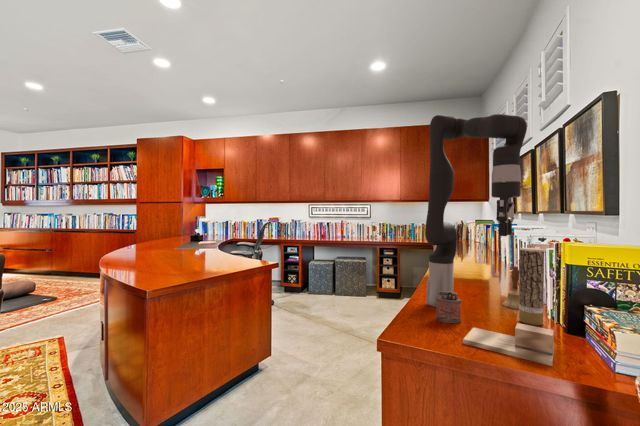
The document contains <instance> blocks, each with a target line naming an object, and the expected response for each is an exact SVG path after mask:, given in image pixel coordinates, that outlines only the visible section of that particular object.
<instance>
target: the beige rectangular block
mask: <svg viewBox="0 0 640 426" xmlns="http://www.w3.org/2000/svg"><path fill="white" fill-rule="evenodd" d="M554 331H555V330H554V329H550V328H543V327H540V326H536V325H530V324H526V323H524V324H523V323H520V322H517V323H516V325H515V328H514V336H515V347H517V348H522V349H526V350H530V351H534V352H538V353H543V354H547V355H551V356H553V345H554V341H555V340H554V338H555V336H554V335H555V334H554ZM553 357H554V356H553Z"/></svg>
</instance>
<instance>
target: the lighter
mask: <svg viewBox="0 0 640 426" xmlns="http://www.w3.org/2000/svg"><path fill="white" fill-rule="evenodd" d="M438 295H442V297H436V307H435V308H436V309H435V314H436V315H435V320H436V321H438V322H443V323H444V322H445V323H452V324H461V323H462V317H461V316H462V315H461V314H462V313H461V312H462V306H461V305H462V299H460V298H458V293H457V292H453V293H452V292H451V291H448V292H446V291H438ZM444 295H445V296H446V297H445V296H444Z"/></svg>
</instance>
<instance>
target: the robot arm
mask: <svg viewBox="0 0 640 426" xmlns="http://www.w3.org/2000/svg"><path fill="white" fill-rule="evenodd" d="M428 128H429V130H428V134H429V135H428V137H429V155H430V157H429V161H430V162H429V176H428V179H429V181H428V202H427V203H428V204H427V205H428V206H427V212H426V213H427V215H426V220H425V221H426V222H425V226H424V227H425V229H424V234H425V236H424V237H425V239H426V241H427V243H428V244H429V245H431V246H435V249H434V250H433V252H431V253H430V254H429V255H428V279H427V281H426V305H428V306H431V307H433V308H436V297H442V295H438V291H446V292H448V291H451V292H452V293H454V266H455V265H454V259H455V257H456V255H457V254H456V253H457V242H458V241H457V240H458V234H457V229H456V226H455V225H454V224H453V223H451V222H447V221H444V217H445V209H446V206H447V204H448V203H449V201H450V198H452V197H451V196H452V194H453V191H454V189H455V171H454V168H453V165H452V164H451V162H450V161H449V158H448V157H447V155H446V153H445V149H444V141H453V140H457V139H461V138H471V139H490V138H491V139H501V140H502V139H503V140H505V141H504V145H501V146H498V147H496V148H494V149H493V152H492V172H491V195H490V196H491V198H495V199H496V198H497V200H496V218H495V219H496V221H497V223H498V224H497V225H498V230H497V231H498V233H497V234H498V236H499V237H507V236H511V235H512V232H513V222H514V220H515V217H514V216H515V211H514V210H515V203H514V201H512V199H514V198H519V197H521V193H522V192H521V191H522V189H521V188H522V181H521V180H522V179H521V177H522V172H521V149H522V147H523V145H524V141H525V138H526V135H527V130H528V124H527V121H526V119H525V118H524V117H523V116H522V115H518V114H516V115H514V114H507V113H506V114H505V113H495V114H490V115H485V116H474V117H471V118H469V119H464V118H460V117H457V116H452V115H444V114H443V115H441V114H439V115H437V114H436V115H435V116H433V117H432V118H431V119H430V123H429V127H428ZM444 296H445V295H444ZM445 297H446V296H445Z"/></svg>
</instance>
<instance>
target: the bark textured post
mask: <svg viewBox="0 0 640 426" xmlns="http://www.w3.org/2000/svg"><path fill="white" fill-rule="evenodd" d="M519 248H520V249H519V279H518V282H519V284H518V286H519V287H518V288H519V289H518V290H519V291H518V292H519V309H518V319H519V321H520V322H522V324H523V323H524V324H525V325H530V326H541V325H543V324H544V300H545V299H544V297H545V296H544V294H545V293H544V290H545V288H544V286H545V285H544V282H545V279H544V278H545V277H544V276H545V251H544V250H545V249H544V248H537V247H536V248H535V247H519Z"/></svg>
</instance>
